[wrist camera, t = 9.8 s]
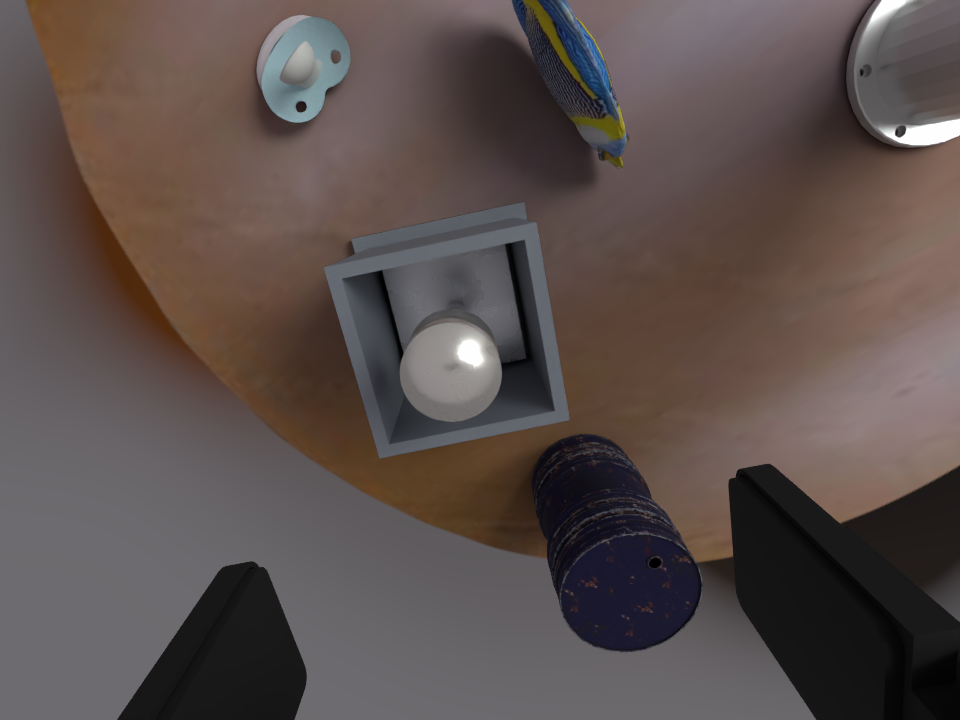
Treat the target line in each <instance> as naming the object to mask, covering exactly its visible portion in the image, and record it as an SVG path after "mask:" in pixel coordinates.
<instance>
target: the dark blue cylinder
mask: <svg viewBox="0 0 960 720" xmlns="http://www.w3.org/2000/svg"><path fill="white" fill-rule="evenodd" d="M532 491H533V495H534V504H535V509H536V513H537V517H538V519H539V524H540V527H541V529H542V532H543V534H544V536H545V538H546V539H547V541H548V543H547V559H548V564H549V568H550V571H551V576H552V580H553V585H554V588H555V590H556V593H557V595H558V599H559V603H560V608H561V612H562V615H563V617H564V620H565V622H566V623H567V625H568V627H569V628H570V629H571V631H572V632H574V634H575V635H576V636H577V637H579V638H580V639H581V640H583V641H584V642H586V643H588V644H590V645H592V646H594V647H597V648H600V649H602V650H607V651H613V652H634V651H640V650H645V649H648V648H651V647H655V646H657V645H659V644H661V643H664V642H665V641H667V640H669V639H670V638H672V637H674V636H675V635H676V634H677V633H679V632H680V631H681V630H682V629H683V628H684V627H685V626H686V625H687V624H688V623H689V621H690V620H691V619H692V618H693V616H694V615H695V613H696V611H697V609H698V607H699V605H700V601H701V597H702V590H703V582H702V576H701V572H700V569H699V567H698V565H697V563H696V561H695V559H694V558H693V556H692V555H691V553H690V552H689V550H688V549H687V547H686V545H685V543H684V541H683V539H682V537H681V535H680V533H679V532H678V530H677V529H676V527H675V526H674V525H673V523H672V522H671V520H670V518H669V516H668V515H667V514H666V512H665V511H664V510H663V509H662V508H661V507H660V506H659V505H658V504H657V503H655V502H654V501H653V500H652V498H651V494H650V491H649V489H648V487H647V484H646V482H645V480H644V478H643V477H642V476H641V474H640V473H639V471H638V469H637V468H636V467H635V465H634V464H633V463H632V462H631V461H630V460H629V458H628V457H627V455H626V454H625V452H624V451H623V450H622V449H621V448H620V447H619V446H618V445H617V444H616V443H614V442H612V441H611V440H609V439H607V438H604V437H601V436H597V435H591V434H580V435H574V436H570V437H567V438H564V439H562V440H560V441H558V442H556V443H554V444H553V445H552V446H550V447H549V448H548V449H547V450H546V451H545V452H544V453H543V454H542V455H541V457H540V458H539V459H538V461H537V463H536V465H535V468H534V471H533V474H532Z"/></svg>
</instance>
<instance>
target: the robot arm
mask: <svg viewBox="0 0 960 720" xmlns="http://www.w3.org/2000/svg"><path fill="white" fill-rule="evenodd" d="M846 82H847V90H848V97H849V100H850V103H851V106H852V109H853V112H854V114H855V115H856V117H857V119H858V120H859V122H860V124H861V125H862V126H863V127H864V128H865V129H866V130H867V131H868V132H869V133H870V134H871V135H872V136H874V137H875V138H877V139H879V140H880V141H882V142H884V143H887V144H890V145H893V146H896V147H906V148H915V147H925V146H931V145H935V144H940V143H944V142H946V141H948V140H951V139H953V138H956V137H958V136H960V0H875V1H874V3H873V4H872V5H871V6H870V8H869V9H868V10H867V12H866V14H865V15H864V17H863V19H862V21H861V23H860V24H859V26H858V28H857V31H856V33H855V36H854V39H853V41H852V44H851V47H850V52H849V57H848V61H847V76H846ZM729 500H730V514H731V528H732V542H733V556H734V571H735V585H736V593H737V597H738V600H739V603H740V605H741V607H742V609H743V611H744V612H745V614H746V615H747V617H748V618H749V620H750V621H751V623H752V624H753V625H754V627H755V629H756V630H757V632H758V633H759V635H760V636H761V638H762V639H763V641H764V642H765V644H766V645H767V647H768V648H769V650H770V651H771V653H772V654H773V655H774V657H775V658H776V660H777V661H778V663H779V664H780V666H781V667H782V669H783V670H784V672H785V673H786V675H787V676H788V678H789V679H790V681H791V682H792V684H793V685H794V686H795V688H796V690H797V691H798V693H799V694H800V696H801V697H802V699H803V700H804V702H805V703H806V705H807V706H808V708H809V709H810V711H811V712H812V714H813V715H814V717H815V718H816V720H960V622H959V621H957V620H956V619H955V618H954V617H953V616H952V615H951V614H949V613H948V612H947V611H946V610H945V609H944V608H942V607H941V606H940V605H939V604H938V603H937V602H935V601H934V600H933V599H932V598H931V597H929V596H928V595H927V594H926V593H925V592H924V591H923V590H921V589H920V588H919V587H918V586H917V585H915V584H914V583H913V582H912V581H911V580H909V579H908V578H907V577H906V576H905V575H904V574H903V573H901V572H900V571H899V570H898V569H897V568H896V567H895V566H893V565H892V564H891V563H890V562H889V561H888V560H886V559H885V558H884V557H883V556H882V555H881V554H879V553H878V552H877V551H876V550H875V549H873V548H872V547H871V546H870V545H869V544H868V543H867V542H865V541H864V540H863V539H862V538H861V537H860V536H858V535H857V534H856V533H855V532H854V531H852V530H851V529H849V528H848V527H846V526H842V525H841V524H840V523H839V522H837V521H836V520H835V519H834V518H833V517H832V516H830V515H829V514H828V513H827V512H826V511H825V510H824V509H822V508H821V507H820V506H819V505H818V504H817V503H815V502H814V501H813V500H812V499H811V498H810V497H809V496H807V495H806V494H805V493H804V492H803V491H802V490H800V489H799V488H798V487H797V486H796V485H795V484H794V483H792V482H791V481H790V480H789V479H788V478H787V477H785V476H784V475H783V474H782V473H781V472H780V471H779V470H777V469H776V468H775V467H774V466H772V465H771V464H764V465H758V466H753V467H748V468H742V469H739V470H738V471H737V473H736V478H731V479H730V480H729ZM306 677H307V675H306V668H305V665H304V662H303V660H302V657H301V655H300V652H299V650H298V647H297V645H296V642H295V640H294V637H293V635H292V632H291V630H290V627H289V625H288V622H287V620H286V617H285V614H284V612H283V609H282V607H281V604H280V602H279V600H278V597H277V594H276V592H275V589H274V587H273V585H272V582H271V579H270V577H269V574H268V572H267V570H266V569H265V568H264V567H259V566H258V565H257V564H256V563H255V562H246V563H240V564H235V565H229V566H225V567H223V568H222V569H221V570H220V571H219V572H218V573H217V575H216V576H215V578H214V579H213V581H212V582H211V584H210V585H209V586H208V588H207V590H206V591H205V592H204V594H203V595H202V597H201V598H200V600H199V601H198V603H197V604H196V606H195V607H194V608H193V610H192V611H191V613H190V614H189V616H188V617H187V619H186V620H185V621H184V623H183V625H182V626H181V627H180V629H179V630H178V632H177V633H176V635H175V636H174V638H173V639H172V641H171V642H170V643H169V645H168V646H167V648H166V649H165V651H164V652H163V654H162V655H161V657H160V658H159V659H158V661H157V663H156V664H155V665H154V667H153V668H152V670H151V671H150V673H149V674H148V675H147V677H146V678H145V680H144V681H143V683H142V684H141V686H140V687H139V689H138V690H137V692H136V693H135V694H134V696H133V698H132V699H131V700H130V702H129V703H128V705H127V706H126V708H125V709H124V710H123V712H122V713H121V715H120V716H119V718H118V719H117V720H294V719H295V716H296V714H297V710H298V708H299V705H300V702H301V698H302V696H303V693H304V690H305V686H306V679H307V678H306Z"/></svg>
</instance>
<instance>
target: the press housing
mask: <svg viewBox="0 0 960 720" xmlns="http://www.w3.org/2000/svg"><path fill="white" fill-rule="evenodd" d="M351 241H352V244H353V248H354V252H355V254H354V255H352V256H349V257H347V258H345V259H342V260H340V261H338V262H335V263H333V264H331V265H328V266H326V267H324V270H325V274H326V277H327V281H328V284H329V287H330V291H331V294H332V298H333V301H334V305H335V308H336V311H337V315H338V318H339V322H340V325H341V328H342V332H343V335H344V339H345V342H346V345H347V349H348V352H349V356H350V359H351V363H352V366H353V369H354V373H355V376H356V380H357V383H358V386H359V390H360V393H361V397H362V400H363V403H364V407H365V410H366V414H367V417H368V420H369V424H370V427H371V431H372V434H373V438H374V441H375V444H376V448H377V451H378V455H379V458H384V457H389V456H394V455H399V454H404V453H409V452H414V451H419V450H424V449H429V448H434V447H439V446H444V445H449V444H454V443H459V442H464V441H469V440H474V439H479V438H484V437H489V436H494V435H499V434H504V433H509V432H514V431H519V430H524V429H529V428H533V427H538V426H543V425H548V424H553V423H558V422H563V421H568V420H570V418H569V412H568V406H567V400H566V394H565V388H564V383H563V377H562V371H561V365H560V359H559V353H558V347H557V341H556V335H555V329H554V323H553V317H552V311H551V305H550V299H549V293H548V287H547V281H546V275H545V269H544V263H543V257H542V251H541V245H540V239H539V234H538V228H537V222H534V221H529V220H528V219H527V214H526V208H525V202H520V203H516V204H511V205H506V206H502V207H497V208H492V209H488V210H483V211H478V212H474V213H469V214H465V215H460V216H455V217H451V218H446V219H441V220H437V221H432V222H427V223H423V224H418V225H413V226H409V227H404V228H399V229H395V230H390V231H386V232H381V233H376V234H372V235H367V236H362V237H358V238H353V239H351ZM502 244H505V247H506V253H507V258H508V263H509V269H510V274H511V279H512V285H513V290H514V295H515V301H516V306H517V311H518V317H519V322H520V327H521V333H522V338H523V343H524V349H525V354H526V359H521V360H516V361H511V362H506V363H501V369H502V379H501V384H500V388H499V391H498V393H497V395H496V397H495V398H494V400H493V401H492V403H491V404H490V405H489V406H488V407H487V408H486V409H485V410H484V411H482V412H481V413H480V414H478V415H476V416H474V417H472V418H469V419H466V420H463V421H456V422H446V421H440V420H436V419H433V418H430V417H428V416H426V415H424V414H423V413H421V412H420V411H418V410H417V409H416V408H415V407H414V406H413V405H412V404H411V403H410V402H409V400H408V399H407V397H406V395H405V393H404V391H403V389H402V386H401V381H400V364H401V360H402V357H403V355H404V353H403V349H402V345H401V341H400V337H399V334H398V330H397V326H396V322H395V318H394V314H393V311H392V307H391V303H390V299H389V295H388V291H387V288H386V284H385V280H384V276H383V272H382V270H385V269H390V268H394V267H399V266H404V265H408V264H413V263H418V262H422V261H427V260H432V259H437V258H441V257H446V256H451V255H455V254H460V253H465V252H469V251H474V250H479V249H484V248H488V247H493V246H498V245H502Z"/></svg>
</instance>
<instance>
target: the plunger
mask: <svg viewBox="0 0 960 720" xmlns="http://www.w3.org/2000/svg"><path fill="white" fill-rule="evenodd" d="M382 272H383V276H384V280H385V284H386V288H387V291H388V295H389V299H390V303H391V307H392V311H393V314H394V318H395V322H396V326H397V330H398V334H399V337H400V341H401V345H402V349H403V353H404V355H403V357H402V360H401V364H400V381H401V386H402V389H403V391H404V393H405V395H406V397H407V399H408V400H409V402H410V403H411V404H412V405H413V406H414V407H415V408H416V409H417V410H418V411H420V412H421V413H423V414H424V415H426V416H428V417H430V418H433V419H436V420H440V421H446V422H456V421H463V420H466V419H469V418H472V417H474V416H476V415H478V414H480V413H481V412H482V411H484V410H485V409H486V408H487V407H488V406H489V405H490V404H491V403H492V401H493V400H494V398H495V397H496V395H497V393H498V391H499V388H500V384H501V379H502V369H501V363H506V362H511V361H516V360H521V359H526V354H525V349H524V343H523V338H522V333H521V327H520V322H519V317H518V311H517V306H516V301H515V295H514V290H513V285H512V279H511V274H510V269H509V263H508V258H507V253H506V247H505V244H502V245H498V246H493V247H488V248H484V249H479V250H474V251H469V252H465V253H460V254H455V255H451V256H446V257H441V258H437V259H432V260H427V261H422V262H418V263H413V264H408V265H404V266H399V267H394V268H390V269H385V270H382Z"/></svg>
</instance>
